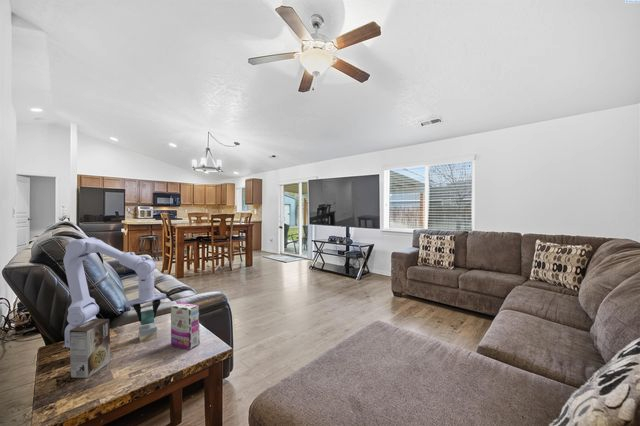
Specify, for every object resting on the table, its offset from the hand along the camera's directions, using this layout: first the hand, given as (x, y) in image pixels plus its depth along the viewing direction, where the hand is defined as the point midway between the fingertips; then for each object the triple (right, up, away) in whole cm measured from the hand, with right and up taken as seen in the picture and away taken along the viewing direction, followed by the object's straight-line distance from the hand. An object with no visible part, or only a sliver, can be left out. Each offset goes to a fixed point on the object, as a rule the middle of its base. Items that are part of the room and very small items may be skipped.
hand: (147, 319), depth 112 cm
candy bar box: (+20, -8, -6) cm, 22 cm away
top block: (0, -6, 0) cm, 6 cm away
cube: (0, -1, 0) cm, 1 cm away
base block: (0, -9, 0) cm, 9 cm away
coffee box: (-5, -9, -22) cm, 24 cm away
